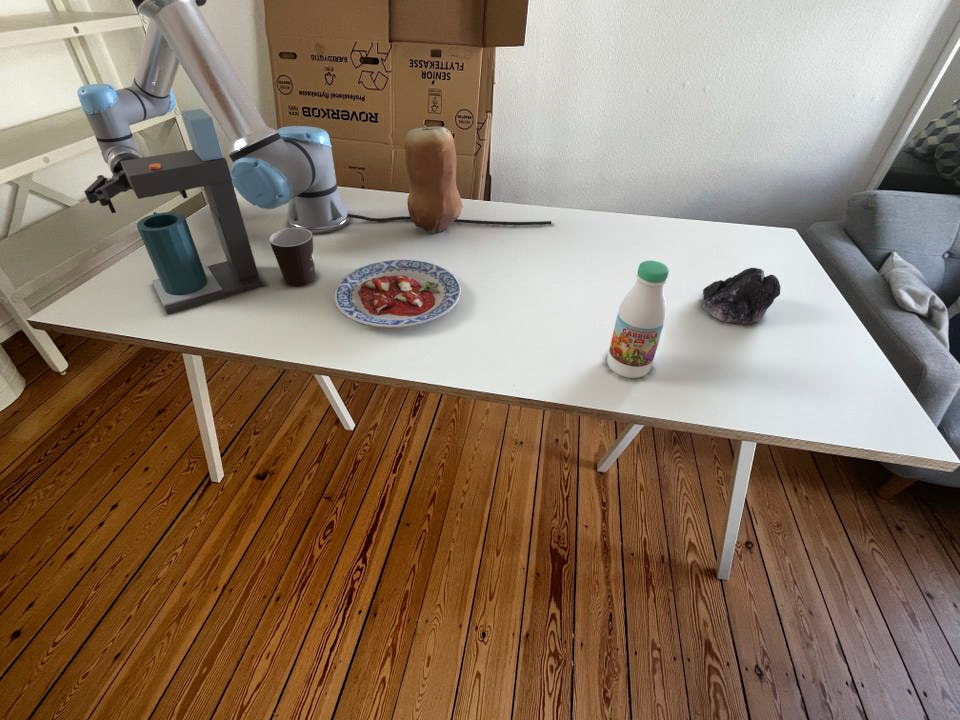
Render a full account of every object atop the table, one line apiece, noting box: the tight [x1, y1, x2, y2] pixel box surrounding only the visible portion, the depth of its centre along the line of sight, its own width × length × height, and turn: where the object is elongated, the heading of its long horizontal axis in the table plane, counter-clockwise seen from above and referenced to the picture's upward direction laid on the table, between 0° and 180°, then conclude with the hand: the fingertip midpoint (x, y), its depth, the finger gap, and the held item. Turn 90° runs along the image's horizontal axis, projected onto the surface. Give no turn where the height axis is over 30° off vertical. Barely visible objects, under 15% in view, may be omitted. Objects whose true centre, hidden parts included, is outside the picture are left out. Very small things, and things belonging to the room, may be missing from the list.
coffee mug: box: [268, 227, 316, 288], centre depth 111 cm, size 12×9×10 cm
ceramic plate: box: [333, 259, 462, 329], centre depth 107 cm, size 26×26×3 cm
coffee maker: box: [120, 108, 265, 315], centre depth 100 cm, size 13×19×33 cm
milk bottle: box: [606, 259, 670, 379], centre depth 87 cm, size 8×8×20 cm
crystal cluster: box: [702, 267, 782, 325], centre depth 105 cm, size 13×14×10 cm
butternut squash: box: [403, 125, 464, 234], centre depth 126 cm, size 14×13×25 cm
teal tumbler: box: [136, 211, 207, 295], centre depth 103 cm, size 8×8×14 cm
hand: (148, 199), depth 107 cm, fingers open, 13 cm apart
